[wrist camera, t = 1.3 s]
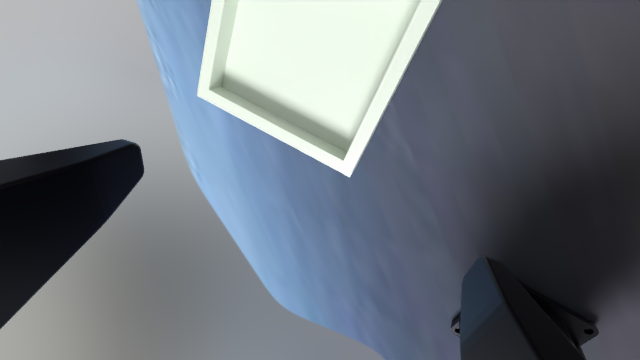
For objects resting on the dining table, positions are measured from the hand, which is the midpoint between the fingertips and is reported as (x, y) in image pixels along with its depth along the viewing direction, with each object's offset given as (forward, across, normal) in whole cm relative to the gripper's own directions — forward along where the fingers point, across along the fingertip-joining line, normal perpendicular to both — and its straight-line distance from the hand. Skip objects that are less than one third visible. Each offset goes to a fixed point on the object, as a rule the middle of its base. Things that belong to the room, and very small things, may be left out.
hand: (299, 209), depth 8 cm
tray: (+14, +4, -1) cm, 14 cm away
